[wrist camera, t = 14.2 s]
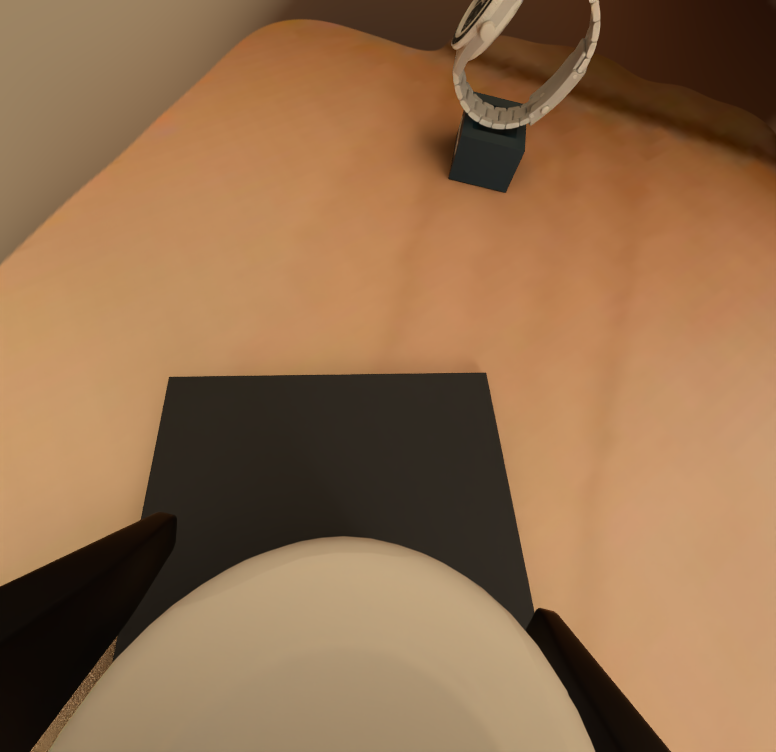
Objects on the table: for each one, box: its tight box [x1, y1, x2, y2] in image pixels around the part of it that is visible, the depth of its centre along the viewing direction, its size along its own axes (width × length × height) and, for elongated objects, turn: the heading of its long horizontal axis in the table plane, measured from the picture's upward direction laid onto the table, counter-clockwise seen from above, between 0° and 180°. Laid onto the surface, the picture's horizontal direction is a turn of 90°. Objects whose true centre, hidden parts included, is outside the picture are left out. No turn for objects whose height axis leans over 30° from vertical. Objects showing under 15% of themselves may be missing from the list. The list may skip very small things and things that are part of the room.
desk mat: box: [112, 373, 534, 663], centre depth 15 cm, size 20×16×1 cm
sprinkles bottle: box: [48, 536, 595, 752], centre depth 8 cm, size 5×5×13 cm
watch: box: [449, 0, 600, 193], centre depth 23 cm, size 6×8×11 cm
